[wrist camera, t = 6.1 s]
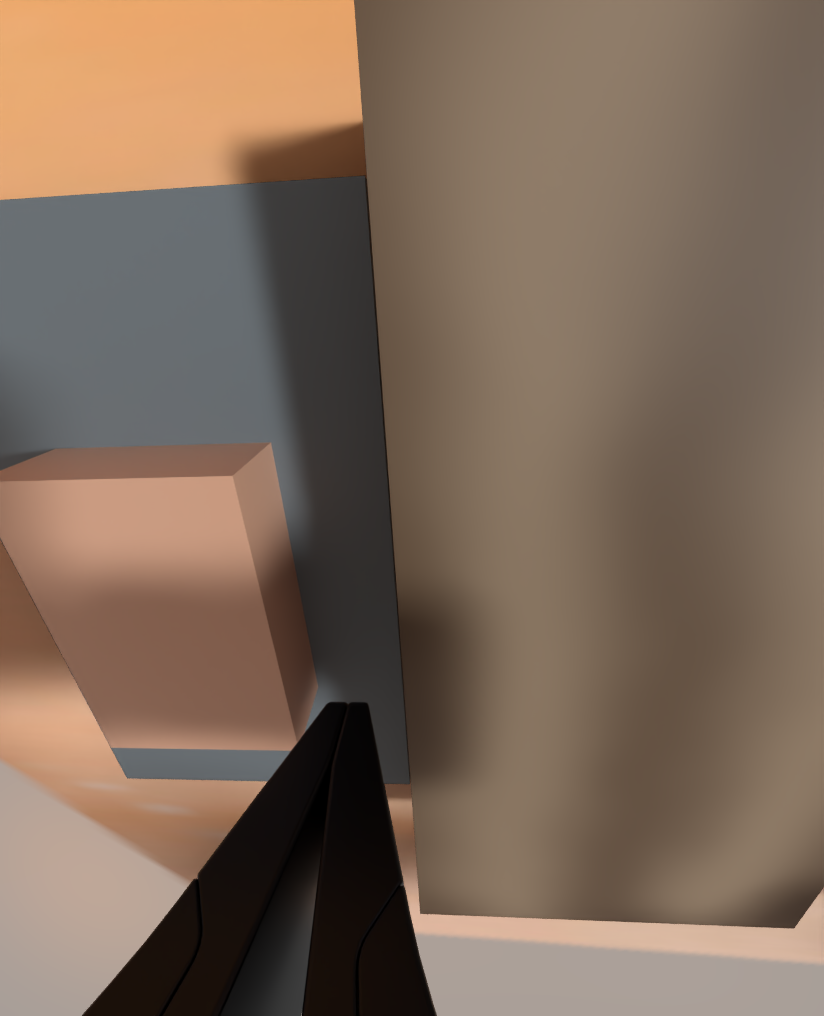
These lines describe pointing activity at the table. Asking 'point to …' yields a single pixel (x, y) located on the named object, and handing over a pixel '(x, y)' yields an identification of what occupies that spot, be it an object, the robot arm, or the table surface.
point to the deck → (605, 448)
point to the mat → (224, 392)
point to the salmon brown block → (167, 590)
